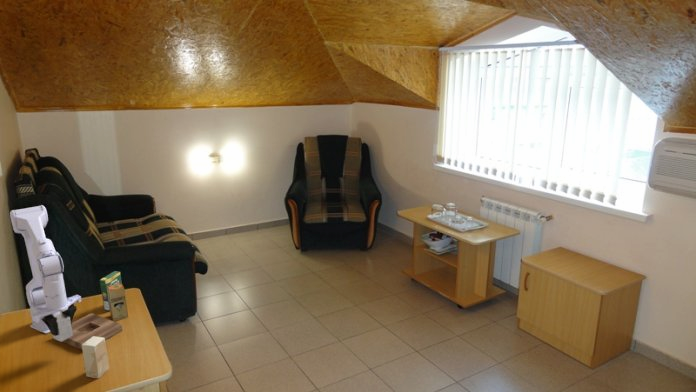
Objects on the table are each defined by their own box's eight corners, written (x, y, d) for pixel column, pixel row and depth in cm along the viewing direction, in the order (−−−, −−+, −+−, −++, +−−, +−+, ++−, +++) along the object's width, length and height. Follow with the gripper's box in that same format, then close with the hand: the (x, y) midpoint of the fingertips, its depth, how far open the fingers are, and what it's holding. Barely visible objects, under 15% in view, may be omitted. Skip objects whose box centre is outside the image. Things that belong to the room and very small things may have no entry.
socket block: (55, 338, 164) (54, 332, 163) (92, 319, 176) (91, 313, 175) (85, 351, 157) (84, 345, 156) (122, 330, 169) (121, 324, 168)
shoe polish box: (110, 315, 178) (106, 286, 175) (125, 311, 181) (121, 282, 178) (113, 321, 174) (109, 291, 171) (128, 317, 177) (124, 287, 174)
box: (98, 379, 144) (93, 347, 141) (85, 377, 145) (80, 345, 142) (110, 368, 149) (105, 337, 146) (97, 366, 150) (92, 335, 146)
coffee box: (109, 312, 180) (105, 280, 177) (103, 310, 181) (98, 279, 177) (125, 301, 188) (121, 271, 184) (119, 300, 189) (114, 270, 185)
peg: (53, 338, 152) (49, 318, 150) (65, 332, 156) (61, 313, 154) (61, 341, 151) (57, 322, 148) (73, 335, 154) (69, 316, 152)
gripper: (39, 306, 141) (46, 346, 145) (84, 286, 153) (90, 323, 157) (24, 300, 144) (32, 340, 148) (70, 281, 156) (77, 317, 160)
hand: (61, 331), depth 153 cm, fingers closed on peg, 4 cm apart
